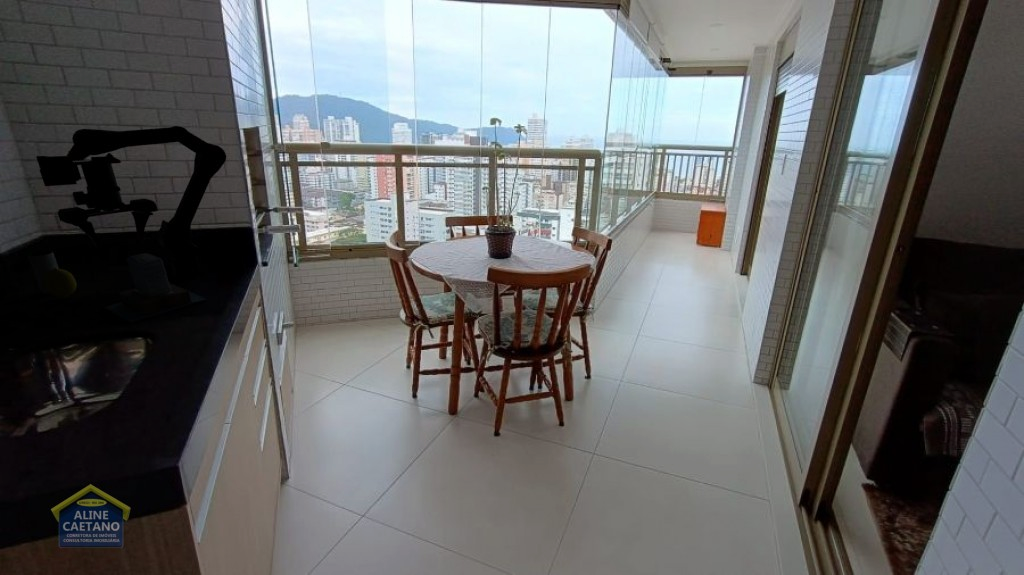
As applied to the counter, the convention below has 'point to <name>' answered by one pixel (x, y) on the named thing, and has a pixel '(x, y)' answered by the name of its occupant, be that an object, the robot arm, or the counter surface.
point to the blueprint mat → (135, 316)
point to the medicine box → (148, 274)
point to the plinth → (154, 300)
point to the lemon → (60, 283)
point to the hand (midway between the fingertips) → (119, 242)
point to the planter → (42, 266)
